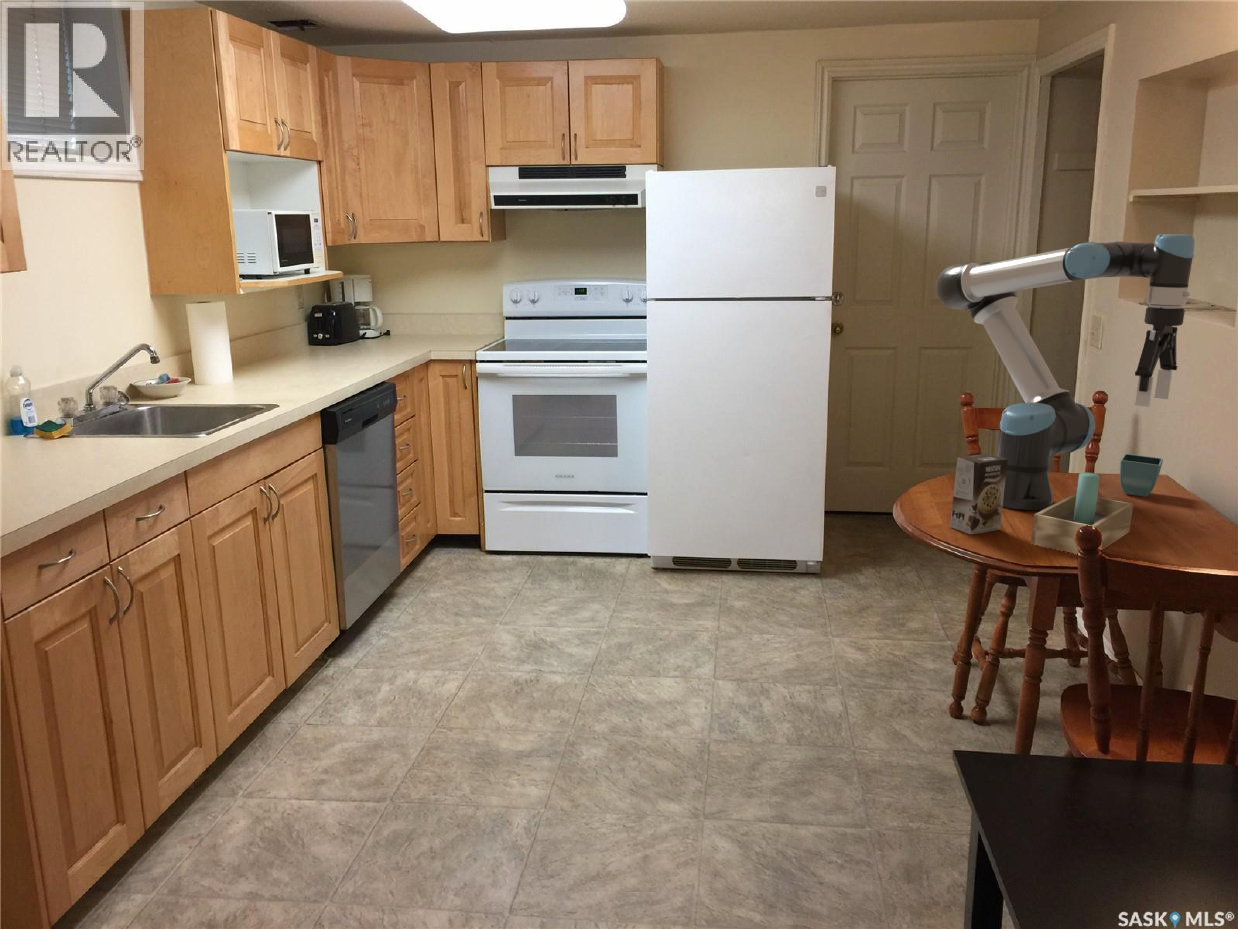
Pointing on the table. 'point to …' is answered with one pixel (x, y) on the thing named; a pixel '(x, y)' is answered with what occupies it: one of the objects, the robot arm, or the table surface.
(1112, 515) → the crate
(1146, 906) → the table surface
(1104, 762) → the table surface
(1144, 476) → the flower pot
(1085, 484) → the peg
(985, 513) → the coffee box
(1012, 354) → the robot arm
